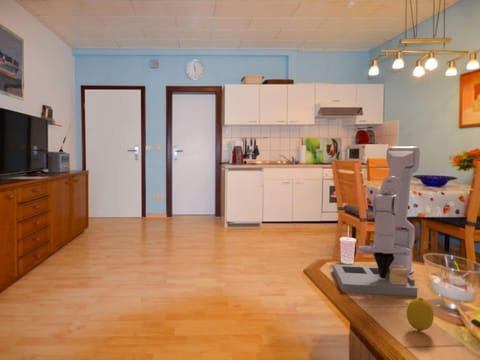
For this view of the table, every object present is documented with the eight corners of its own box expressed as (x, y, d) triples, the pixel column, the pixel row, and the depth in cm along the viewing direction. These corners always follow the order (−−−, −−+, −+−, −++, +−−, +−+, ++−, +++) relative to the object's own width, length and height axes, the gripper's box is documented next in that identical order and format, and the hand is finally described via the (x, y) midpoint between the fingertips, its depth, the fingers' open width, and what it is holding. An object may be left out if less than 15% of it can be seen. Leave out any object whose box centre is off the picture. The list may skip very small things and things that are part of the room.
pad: (384, 276, 115) (384, 276, 115) (402, 277, 115) (402, 277, 115) (391, 284, 108) (391, 283, 108) (410, 285, 108) (410, 284, 108)
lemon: (436, 338, 81) (437, 303, 80) (409, 335, 82) (411, 301, 81) (428, 327, 86) (430, 294, 85) (403, 324, 87) (404, 292, 87)
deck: (332, 271, 127) (333, 260, 127) (395, 274, 125) (395, 262, 125) (342, 292, 107) (343, 279, 107) (417, 296, 105) (417, 282, 105)
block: (385, 277, 114) (385, 264, 114) (401, 277, 114) (402, 265, 113) (389, 282, 109) (390, 269, 109) (407, 283, 109) (407, 270, 109)
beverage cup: (349, 265, 135) (350, 228, 134) (335, 261, 139) (336, 225, 138) (358, 262, 138) (360, 226, 137) (345, 259, 143) (346, 223, 142)
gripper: (362, 235, 108) (361, 280, 109) (414, 237, 106) (411, 283, 107) (357, 230, 115) (356, 272, 116) (405, 232, 113) (403, 275, 114)
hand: (382, 277), depth 112 cm, fingers closed
